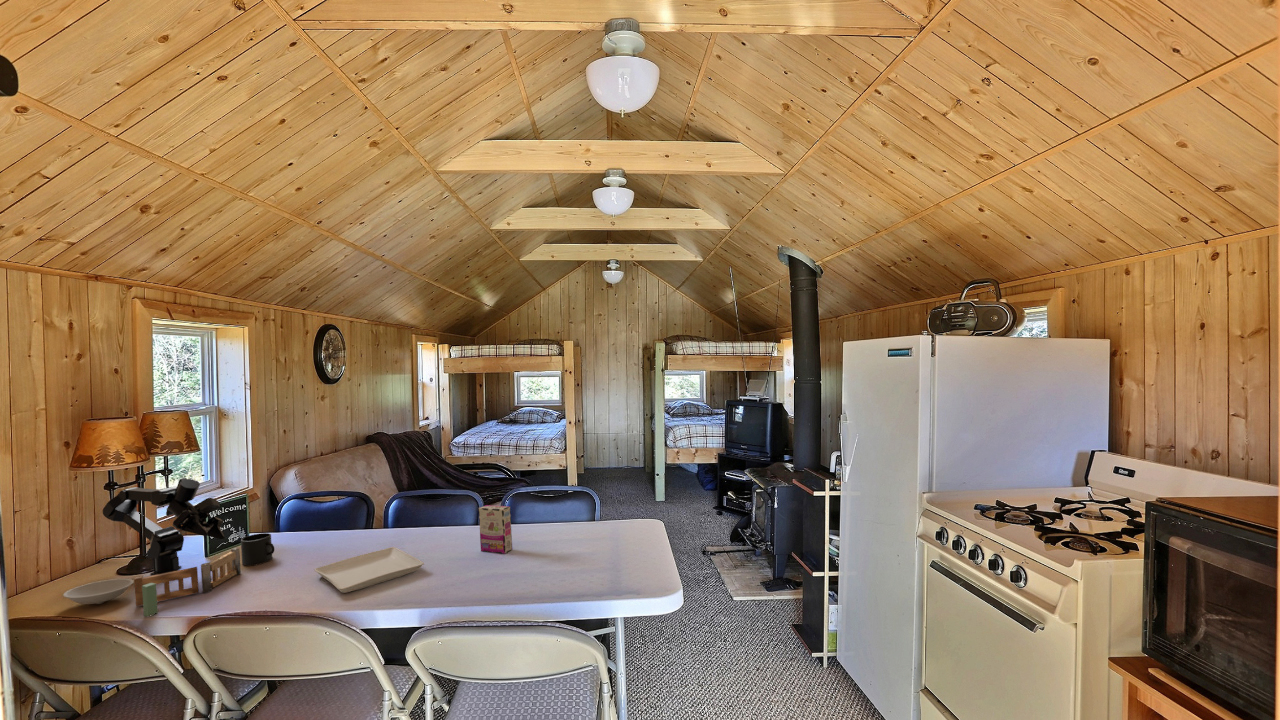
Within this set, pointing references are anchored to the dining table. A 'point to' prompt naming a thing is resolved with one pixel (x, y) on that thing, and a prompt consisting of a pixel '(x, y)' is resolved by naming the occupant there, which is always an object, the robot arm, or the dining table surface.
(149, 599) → the post
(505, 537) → the candy bar box
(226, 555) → the wooden fence panel
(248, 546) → the mug
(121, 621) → the dining table surface
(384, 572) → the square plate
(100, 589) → the dish
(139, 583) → the gate
